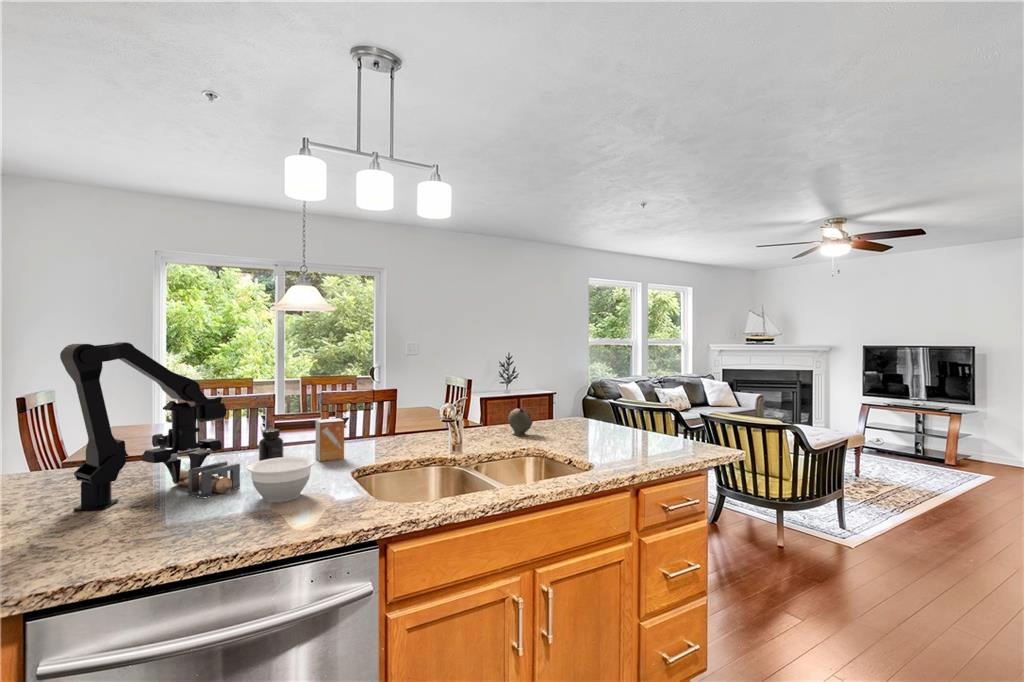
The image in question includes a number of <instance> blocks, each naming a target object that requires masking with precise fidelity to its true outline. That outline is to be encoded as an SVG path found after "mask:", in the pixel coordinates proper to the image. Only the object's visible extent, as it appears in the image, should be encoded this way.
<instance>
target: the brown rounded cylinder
mask: <svg viewBox="0 0 1024 682" xmlns="http://www.w3.org/2000/svg"><path fill="white" fill-rule="evenodd" d="M171 480H172V482H173V484H174V485H178V486H182V487H187V488H189V470H184V469H180V478H179V482H178V483H177V484H176V483H174V481H173V478H172V477H171ZM231 487H232V481H231V479H230V477H228V478H226V477H220V476H218V475H215V474H214V475H212V492H213V493H217V494H218V493H219V494H223V493H224V494H227V493H229V492H230V491H231V490H232V489H231ZM199 490H201V473H199ZM226 492H227V493H226ZM224 494H223V495H224Z"/></svg>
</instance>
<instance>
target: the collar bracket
mask: <svg viewBox="0 0 1024 682" xmlns="http://www.w3.org/2000/svg"><path fill="white" fill-rule="evenodd" d="M188 471H189V487H188V496H191V495H194V496H193V497H196V496H199V497H198V498H200V497H207V498H209V497H208V496H210V497H212V496H213V495H212V475H214V476H215V475H217V476H220V477H226V478H230V479H231V481H232V487H231V489H230V490H232V489H234V490H236V489H235V488H237V489H239V488H238V487H240V488H241V482H240V481H241V477H240V476H241V463H238V462H236V463H232V464H228V461H220V462H216V463H212V464H207V465H203V466H202V465H201V467H198V468H193V469H190V468H189V469H188ZM228 472H229V474H228ZM199 473H201V489H199ZM228 475H230V476H229V477H228ZM211 495H212V496H211Z"/></svg>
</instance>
